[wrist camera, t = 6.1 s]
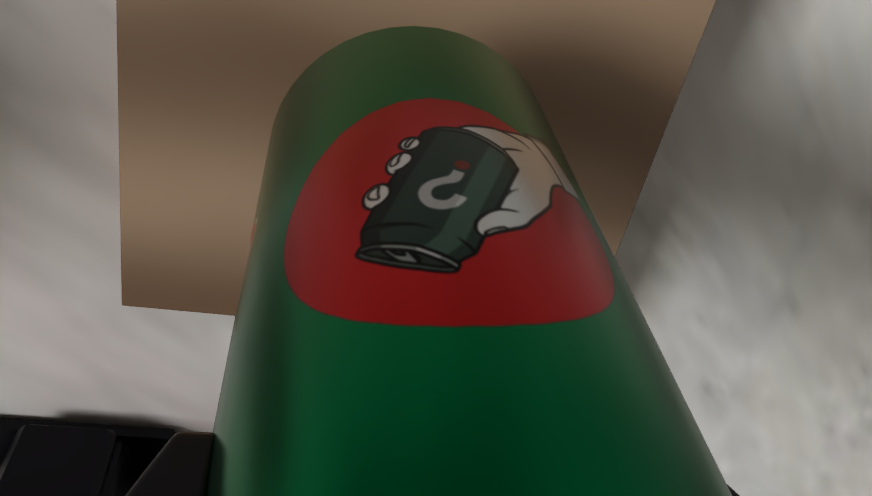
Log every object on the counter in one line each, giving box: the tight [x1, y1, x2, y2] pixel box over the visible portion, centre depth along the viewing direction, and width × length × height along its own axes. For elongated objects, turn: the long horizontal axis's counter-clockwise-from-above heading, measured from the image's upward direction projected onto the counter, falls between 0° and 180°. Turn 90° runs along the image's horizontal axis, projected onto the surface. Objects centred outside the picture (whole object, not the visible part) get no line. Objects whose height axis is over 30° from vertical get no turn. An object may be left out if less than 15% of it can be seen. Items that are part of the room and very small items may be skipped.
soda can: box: [205, 26, 732, 496], centre depth 10 cm, size 5×5×12 cm
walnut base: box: [117, 0, 716, 316], centre depth 18 cm, size 12×12×2 cm
